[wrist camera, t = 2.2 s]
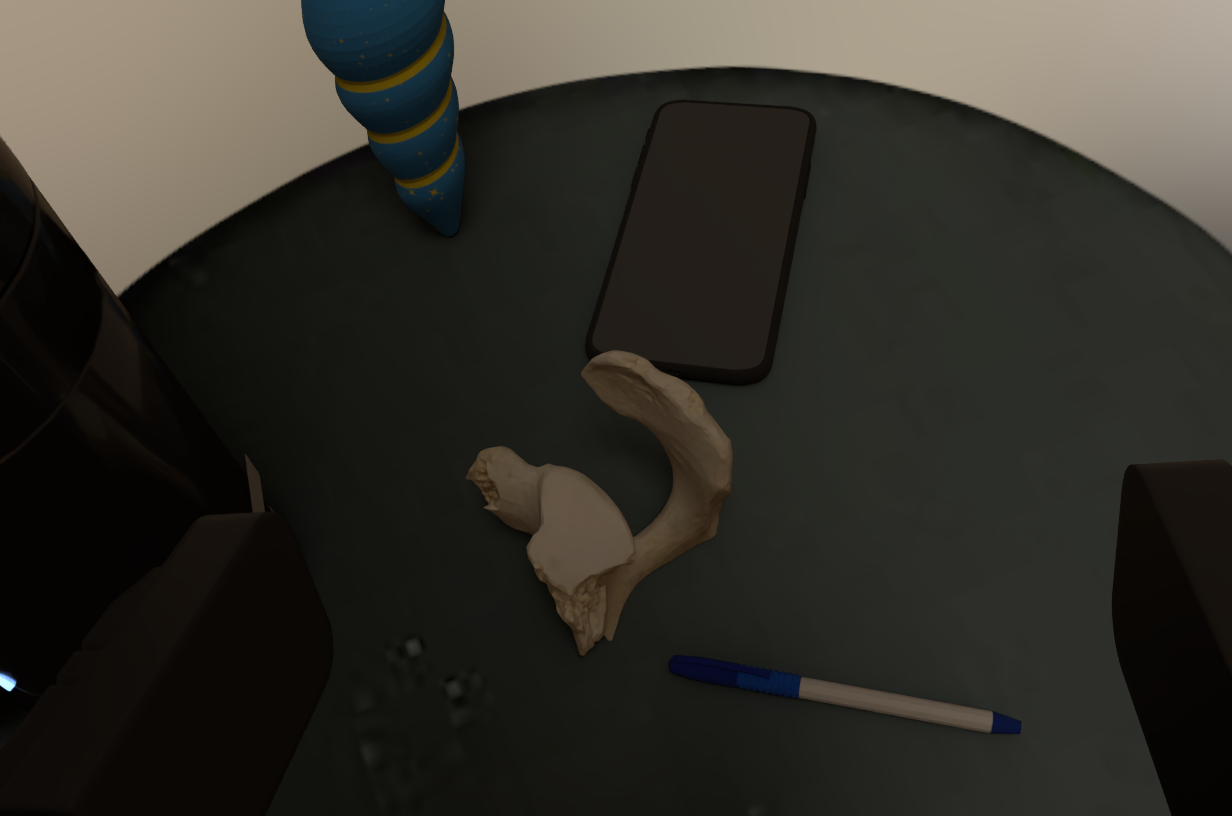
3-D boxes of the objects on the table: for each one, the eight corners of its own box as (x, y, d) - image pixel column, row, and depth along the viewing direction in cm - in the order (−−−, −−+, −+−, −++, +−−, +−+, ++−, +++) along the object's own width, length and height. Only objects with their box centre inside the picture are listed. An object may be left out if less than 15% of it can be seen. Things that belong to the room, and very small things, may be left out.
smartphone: (575, 356, 41) (656, 95, 49) (579, 371, 42) (658, 112, 50) (770, 379, 40) (821, 105, 48) (770, 394, 40) (820, 122, 48)
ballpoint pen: (667, 684, 34) (665, 672, 33) (672, 658, 35) (670, 645, 34) (1017, 741, 32) (1024, 729, 31) (1017, 712, 33) (1024, 699, 32)
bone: (429, 661, 34) (425, 362, 30) (487, 554, 40) (489, 292, 36) (704, 704, 33) (738, 399, 29) (722, 588, 38) (752, 321, 34)
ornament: (510, 188, 49) (425, -146, 36) (508, 272, 45) (414, -62, 33) (396, 201, 49) (275, -126, 37) (386, 285, 46) (251, -40, 34)
